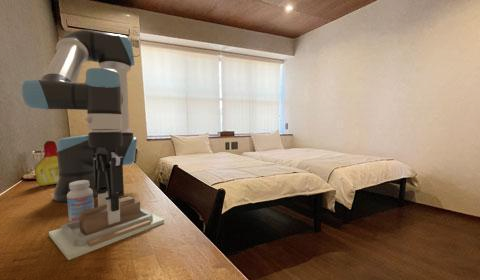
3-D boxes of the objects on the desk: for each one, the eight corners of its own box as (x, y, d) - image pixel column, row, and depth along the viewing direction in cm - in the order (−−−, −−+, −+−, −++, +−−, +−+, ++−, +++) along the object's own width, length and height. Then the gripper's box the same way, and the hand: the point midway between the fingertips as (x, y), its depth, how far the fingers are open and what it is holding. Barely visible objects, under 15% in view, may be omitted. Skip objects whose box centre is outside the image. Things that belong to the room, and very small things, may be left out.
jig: (49, 235, 55) (48, 225, 55) (136, 209, 72) (136, 201, 72) (68, 260, 45) (67, 248, 45) (164, 222, 62) (164, 214, 62)
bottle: (36, 188, 96) (33, 142, 94) (35, 185, 100) (32, 141, 99) (71, 182, 105) (68, 140, 103) (68, 180, 109) (65, 139, 107)
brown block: (80, 231, 55) (78, 207, 55) (132, 214, 66) (131, 194, 65) (87, 237, 52) (85, 212, 52) (140, 219, 62) (139, 198, 62)
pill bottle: (71, 227, 59) (67, 187, 58) (67, 220, 64) (63, 182, 62) (97, 220, 64) (94, 181, 63) (92, 213, 68) (89, 178, 67)
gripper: (76, 131, 60) (80, 215, 61) (103, 132, 48) (108, 235, 50) (107, 130, 65) (110, 207, 67) (137, 131, 54) (140, 224, 56)
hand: (109, 219), depth 58 cm, fingers closed on brown block, 5 cm apart
